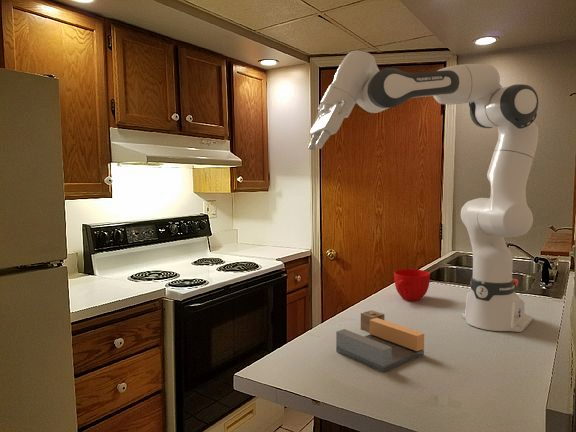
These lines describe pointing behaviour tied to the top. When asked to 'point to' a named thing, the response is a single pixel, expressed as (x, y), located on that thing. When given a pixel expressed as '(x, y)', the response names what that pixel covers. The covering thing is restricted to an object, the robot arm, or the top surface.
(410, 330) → the block
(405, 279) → the ceramic cup
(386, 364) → the frame
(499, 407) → the top surface
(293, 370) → the top surface
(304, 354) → the top surface
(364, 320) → the block
